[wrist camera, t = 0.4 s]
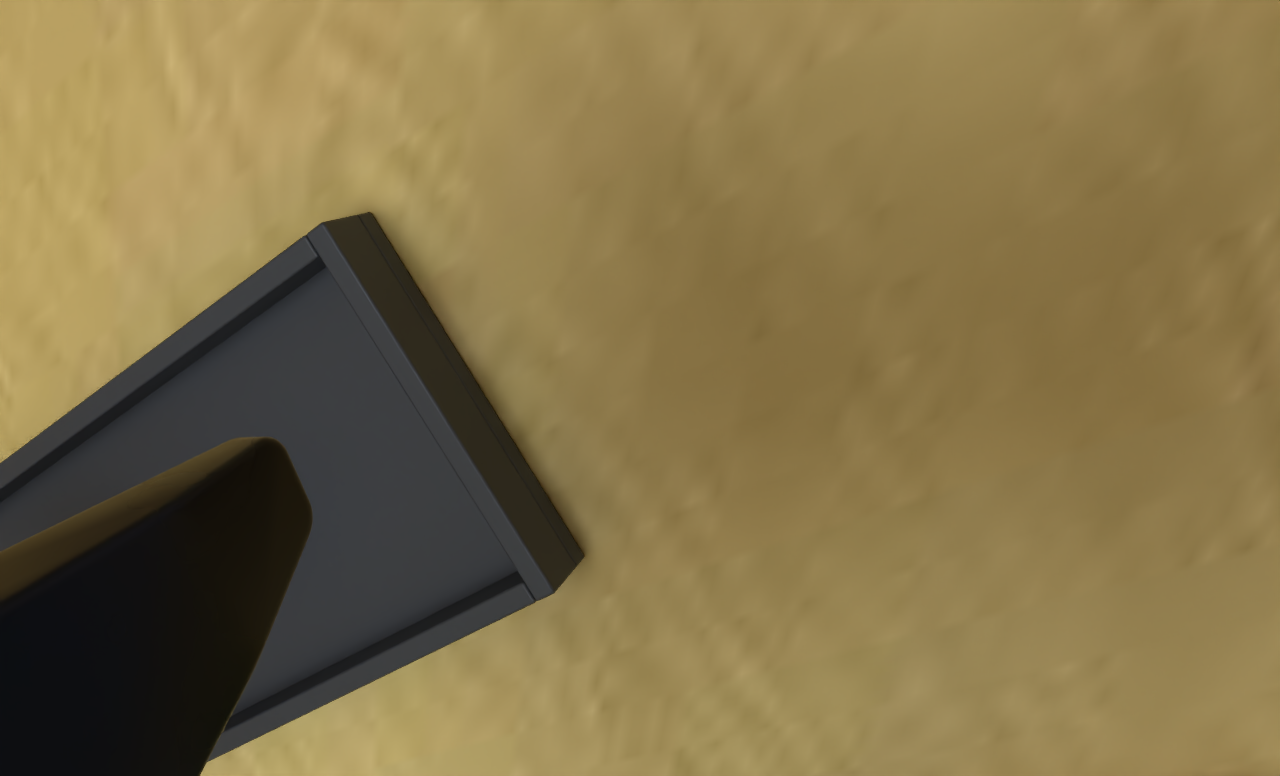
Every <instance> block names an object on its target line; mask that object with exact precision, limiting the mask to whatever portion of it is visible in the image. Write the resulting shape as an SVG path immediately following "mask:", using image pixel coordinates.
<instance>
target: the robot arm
mask: <svg viewBox="0 0 1280 776" xmlns="http://www.w3.org/2000/svg"><path fill="white" fill-rule="evenodd" d="M312 522H313V513H312V507H311V504H310V501H309V499H308V497H307V495H306V492H305V490H304V488H303V486H302V483H301V481H300V479H299V477H298V474H297V472H296V470H295V468H294V465H293V463H292V461H291V459H290V457H289V454H288V452H287V450H286V448H285V447H284V446H283V445H282V444H281V443H280V442H279V441H278V440H277V439H274V438H272V437H238V438H234V439H231V440H229V441H227V442H224V443H222V444H220V445H218V446H216V447H214V448H212V449H210V450H208V451H206V452H204V453H202V454H200V455H198V456H196V457H194V458H192V459H190V460H188V461H185V462H183V463H181V464H179V465H177V466H175V467H173V468H171V469H169V470H167V471H165V472H163V473H161V474H159V475H157V476H155V477H153V478H151V479H149V480H146V481H144V482H142V483H140V484H138V485H136V486H134V487H132V488H130V489H128V490H126V491H124V492H122V493H120V494H118V495H116V496H114V497H112V498H110V499H107V500H105V501H103V502H101V503H99V504H97V505H95V506H93V507H91V508H89V509H87V510H85V511H83V512H81V513H79V514H77V515H75V516H73V517H70V518H68V519H66V520H64V521H62V522H60V523H58V524H56V525H54V526H52V527H50V528H48V529H46V530H44V531H42V532H40V533H38V534H36V535H34V536H31V537H29V538H27V539H25V540H23V541H21V542H19V543H17V544H15V545H13V546H11V547H9V548H7V549H5V550H3V551H1V552H0V776H200V774H201V772H202V770H203V768H204V766H205V764H206V763H207V761H208V759H209V757H210V755H211V753H212V751H213V749H214V747H215V745H216V743H217V741H218V739H219V738H220V736H221V734H222V732H223V730H224V728H225V726H226V724H227V722H228V720H229V718H230V716H231V715H232V713H233V711H234V709H235V707H236V705H237V703H238V701H239V699H240V697H241V695H242V693H243V691H244V689H245V687H246V685H247V683H248V681H249V679H250V677H251V675H252V673H253V671H254V669H255V667H256V665H257V662H258V660H259V658H260V655H261V653H262V651H263V649H264V646H265V644H266V641H267V639H268V636H269V634H270V631H271V629H272V626H273V624H274V622H275V619H276V617H277V614H278V612H279V609H280V607H281V604H282V602H283V599H284V597H285V594H286V592H287V589H288V587H289V584H290V582H291V579H292V577H293V575H294V572H295V570H296V567H297V565H298V562H299V560H300V557H301V555H302V552H303V550H304V547H305V545H306V542H307V540H308V537H309V535H310V532H311V528H312Z"/></svg>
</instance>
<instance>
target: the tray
mask: <svg viewBox="0 0 1280 776" xmlns="http://www.w3.org/2000/svg"><path fill="white" fill-rule="evenodd" d="M238 437H272V438H274V439H277V440H278V441H279V442H280V443H281V444H282V445H283V446H284V447H285V448H286V450H287V452H288V454H289V457H290V459H291V461H292V463H293V465H294V468H295V470H296V472H297V474H298V477H299V479H300V481H301V483H302V486H303V488H304V490H305V492H306V495H307V497H308V499H309V501H310V504H311V507H312V513H313V522H312V528H311V532H310V535H309V537H308V540H307V542H306V545H305V547H304V550H303V552H302V555H301V557H300V560H299V562H298V565H297V567H296V570H295V572H294V575H293V577H292V579H291V582H290V584H289V587H288V589H287V592H286V594H285V597H284V599H283V602H282V604H281V607H280V609H279V612H278V614H277V617H276V619H275V622H274V624H273V626H272V629H271V631H270V634H269V636H268V639H267V641H266V644H265V646H264V649H263V651H262V653H261V655H260V658H259V660H258V662H257V665H256V667H255V669H254V671H253V673H252V675H251V677H250V679H249V681H248V683H247V685H246V687H245V689H244V691H243V693H242V695H241V697H240V699H239V701H238V703H237V705H236V707H235V709H234V711H233V713H232V715H231V716H230V718H229V720H228V722H227V724H226V726H225V728H224V730H223V732H222V734H221V736H220V738H219V739H218V741H217V743H216V745H215V747H214V749H213V751H212V753H211V755H210V757H209V759H208V761H211V760H213V759H215V758H217V757H219V756H221V755H223V754H225V753H227V752H229V751H231V750H233V749H235V748H237V747H239V746H241V745H243V744H245V743H247V742H250V741H252V740H254V739H256V738H258V737H260V736H262V735H264V734H266V733H268V732H270V731H272V730H274V729H276V728H278V727H280V726H282V725H284V724H287V723H289V722H291V721H293V720H295V719H297V718H299V717H301V716H303V715H305V714H307V713H309V712H311V711H313V710H315V709H317V708H319V707H321V706H323V705H326V704H328V703H330V702H332V701H334V700H336V699H338V698H340V697H342V696H344V695H346V694H348V693H350V692H352V691H354V690H356V689H358V688H360V687H362V686H365V685H367V684H369V683H371V682H373V681H375V680H377V679H379V678H381V677H383V676H385V675H387V674H389V673H391V672H393V671H395V670H397V669H399V668H401V667H404V666H406V665H408V664H410V663H412V662H414V661H416V660H418V659H420V658H422V657H424V656H426V655H428V654H430V653H432V652H434V651H436V650H438V649H440V648H443V647H445V646H447V645H449V644H451V643H453V642H455V641H457V640H459V639H461V638H463V637H465V636H467V635H469V634H471V633H473V632H475V631H477V630H480V629H482V628H484V627H486V626H488V625H490V624H492V623H494V622H496V621H498V620H500V619H502V618H504V617H506V616H508V615H510V614H512V613H514V612H516V611H519V610H521V609H523V608H525V607H527V606H529V605H531V604H533V603H535V602H536V601H538V600H541V599H543V598H545V597H547V596H549V595H551V594H553V593H555V591H556V590H557V589H558V588H559V587H560V586H561V584H562V583H563V582H564V581H565V580H566V578H567V577H568V576H569V575H570V574H571V573H572V571H573V570H574V569H575V568H576V567H577V565H578V564H579V563H580V562H581V561H582V559H583V558H584V555H583V553H582V552H581V550H580V549H579V547H578V545H577V544H576V542H575V541H574V539H573V537H572V536H571V534H570V533H569V531H568V529H567V528H566V526H565V524H564V523H563V521H562V520H561V518H560V516H559V515H558V513H557V512H556V510H555V508H554V507H553V505H552V504H551V502H550V500H549V499H548V497H547V496H546V494H545V492H544V491H543V489H542V487H541V486H540V484H539V483H538V481H537V479H536V478H535V476H534V475H533V473H532V471H531V470H530V468H529V467H528V465H527V463H526V462H525V460H524V459H523V457H522V455H521V454H520V452H519V451H518V449H517V447H516V446H515V444H514V442H513V441H512V439H511V438H510V436H509V434H508V433H507V431H506V430H505V428H504V426H503V425H502V423H501V422H500V420H499V418H498V417H497V415H496V414H495V412H494V410H493V409H492V407H491V405H490V404H489V402H488V401H487V399H486V397H485V396H484V394H483V393H482V391H481V389H480V388H479V386H478V385H477V383H476V381H475V380H474V378H473V377H472V375H471V373H470V372H469V370H468V368H467V367H466V365H465V364H464V362H463V360H462V359H461V357H460V356H459V354H458V352H457V351H456V349H455V348H454V346H453V344H452V343H451V341H450V340H449V338H448V336H447V335H446V333H445V332H444V330H443V328H442V327H441V325H440V323H439V322H438V320H437V319H436V317H435V315H434V314H433V312H432V311H431V309H430V307H429V306H428V304H427V303H426V301H425V299H424V298H423V296H422V295H421V293H420V291H419V290H418V288H417V286H416V285H415V283H414V282H413V280H412V278H411V277H410V275H409V274H408V272H407V270H406V269H405V267H404V266H403V264H402V262H401V261H400V259H399V258H398V256H397V254H396V253H395V251H394V250H393V248H392V246H391V245H390V243H389V241H388V240H387V238H386V237H385V235H384V233H383V232H382V230H381V229H380V227H379V225H378V224H377V222H376V221H375V219H374V217H373V216H372V214H371V213H370V212H368V213H363V214H359V215H354V216H350V217H345V218H340V219H336V220H331V221H327V222H322V223H321V224H319V225H318V226H317V227H315V228H314V229H313V230H311V231H310V232H309V233H308V234H307V235H305V236H303V237H302V238H300V239H299V240H298V241H296V242H295V243H294V244H292V245H291V246H290V247H288V248H287V249H286V250H284V251H283V252H282V253H280V254H279V255H278V256H276V257H275V258H274V259H272V260H271V261H270V262H268V263H267V264H266V265H264V266H263V267H262V268H260V269H259V270H258V271H256V272H255V273H254V274H252V275H251V276H250V277H248V278H247V279H246V280H244V281H243V282H242V283H240V284H239V285H238V286H236V287H235V288H234V289H232V290H231V291H230V292H228V293H227V294H226V295H224V296H223V297H222V298H220V299H219V300H218V301H216V302H215V303H214V304H212V305H211V306H210V307H208V308H207V309H206V310H204V311H203V312H202V313H200V314H199V315H198V316H196V317H195V318H194V319H192V320H191V321H190V322H188V323H187V324H186V325H184V326H183V327H182V328H180V329H179V330H178V331H176V332H175V333H174V334H172V335H171V336H170V337H168V338H167V339H166V340H164V341H163V342H162V343H160V344H159V345H158V346H156V347H155V348H153V349H152V350H151V351H149V352H148V353H147V354H145V355H144V356H143V357H141V358H140V359H139V360H137V361H136V362H135V363H133V364H132V365H131V366H129V367H128V368H127V369H125V370H124V371H123V372H121V373H120V374H119V375H117V376H116V377H115V378H113V379H112V380H111V381H109V382H108V383H107V384H105V385H104V386H103V387H101V388H100V389H99V390H97V391H96V392H95V393H93V394H92V395H91V396H89V397H88V398H87V399H85V400H84V401H83V402H81V403H80V404H79V405H77V406H76V407H75V408H73V409H72V410H71V411H69V412H68V413H67V414H65V415H64V416H63V417H61V418H60V419H59V420H57V421H56V422H55V423H53V424H52V425H51V426H49V427H48V428H47V429H45V430H44V431H43V432H41V433H40V434H39V435H37V436H36V437H35V438H33V439H32V440H31V441H29V442H28V443H27V444H25V445H24V446H23V447H21V448H20V449H19V450H17V451H16V452H15V453H13V454H12V455H11V456H9V457H8V458H7V459H5V460H4V461H3V462H1V463H0V552H1V551H3V550H5V549H7V548H9V547H11V546H13V545H15V544H17V543H19V542H21V541H23V540H25V539H27V538H29V537H31V536H34V535H36V534H38V533H40V532H42V531H44V530H46V529H48V528H50V527H52V526H54V525H56V524H58V523H60V522H62V521H64V520H66V519H68V518H70V517H73V516H75V515H77V514H79V513H81V512H83V511H85V510H87V509H89V508H91V507H93V506H95V505H97V504H99V503H101V502H103V501H105V500H107V499H110V498H112V497H114V496H116V495H118V494H120V493H122V492H124V491H126V490H128V489H130V488H132V487H134V486H136V485H138V484H140V483H142V482H144V481H146V480H149V479H151V478H153V477H155V476H157V475H159V474H161V473H163V472H165V471H167V470H169V469H171V468H173V467H175V466H177V465H179V464H181V463H183V462H185V461H188V460H190V459H192V458H194V457H196V456H198V455H200V454H202V453H204V452H206V451H208V450H210V449H212V448H214V447H216V446H218V445H220V444H222V443H224V442H227V441H229V440H231V439H234V438H238ZM208 761H207V762H208Z"/></svg>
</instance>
